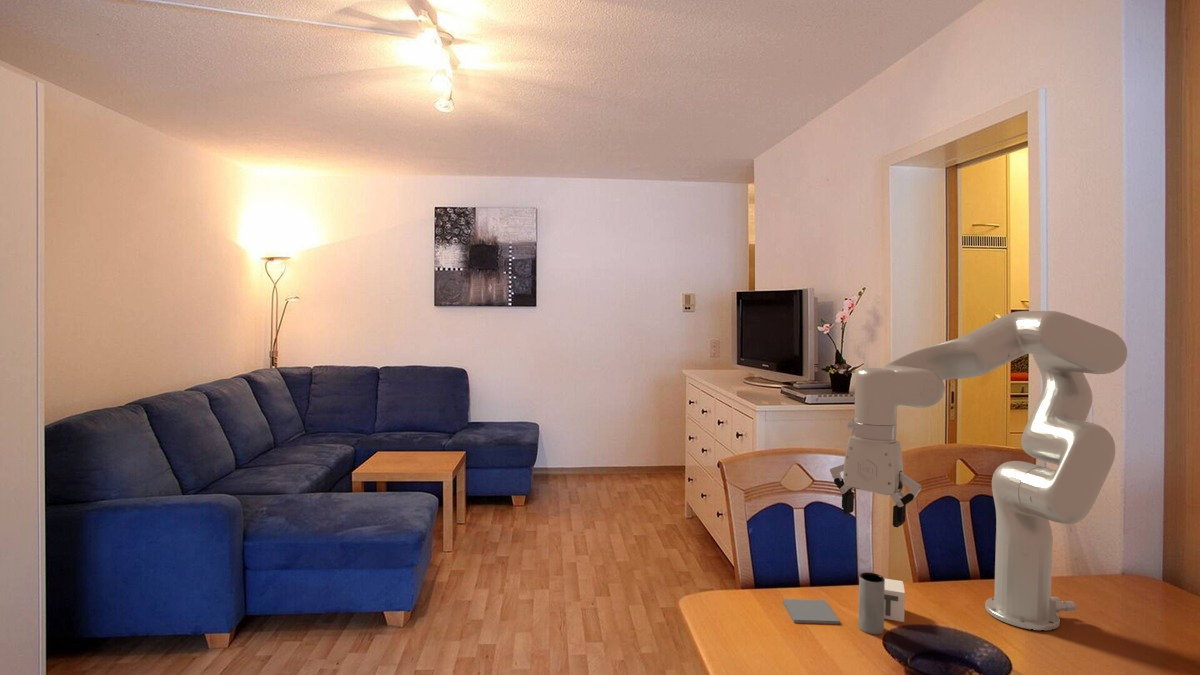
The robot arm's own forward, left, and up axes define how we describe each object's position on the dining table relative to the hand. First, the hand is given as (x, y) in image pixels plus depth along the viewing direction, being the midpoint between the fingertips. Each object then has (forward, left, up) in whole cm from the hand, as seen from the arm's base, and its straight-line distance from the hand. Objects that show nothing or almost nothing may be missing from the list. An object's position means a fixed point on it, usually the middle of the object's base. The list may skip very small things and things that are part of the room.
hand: (872, 519), depth 120 cm
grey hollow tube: (0, 0, -22) cm, 22 cm away
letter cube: (-6, -7, -22) cm, 24 cm away
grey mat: (+10, -6, -22) cm, 25 cm away
